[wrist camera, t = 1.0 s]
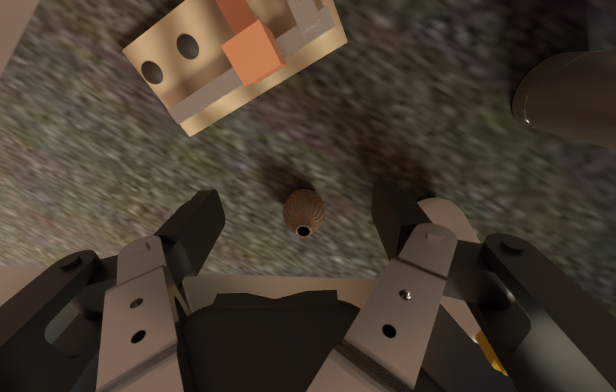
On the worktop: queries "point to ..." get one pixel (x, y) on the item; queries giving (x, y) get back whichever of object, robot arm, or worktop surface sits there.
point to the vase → (303, 212)
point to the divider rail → (302, 34)
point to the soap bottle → (456, 221)
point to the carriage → (250, 44)
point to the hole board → (216, 53)
